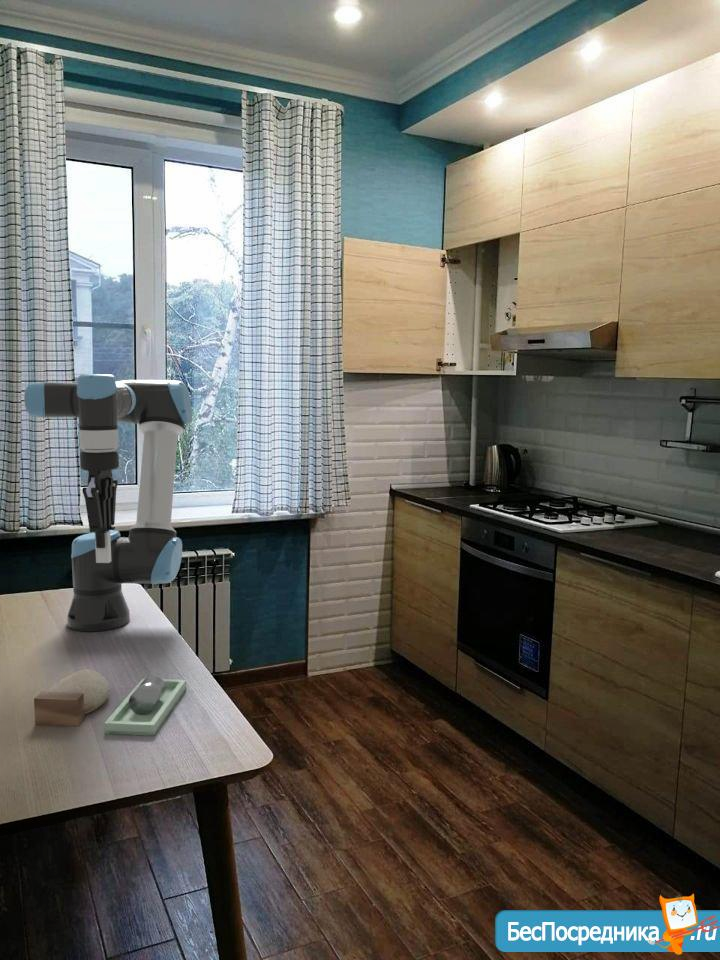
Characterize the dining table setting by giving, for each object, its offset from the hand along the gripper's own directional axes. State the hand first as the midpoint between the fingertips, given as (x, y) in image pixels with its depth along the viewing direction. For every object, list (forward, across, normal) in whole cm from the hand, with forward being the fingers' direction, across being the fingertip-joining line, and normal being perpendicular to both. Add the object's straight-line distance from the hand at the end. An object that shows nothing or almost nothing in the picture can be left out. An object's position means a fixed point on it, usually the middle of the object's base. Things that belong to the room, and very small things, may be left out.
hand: (103, 561), depth 161 cm
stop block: (+24, +23, 0) cm, 34 cm away
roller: (+24, +17, +14) cm, 33 cm away
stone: (+25, +15, 0) cm, 29 cm away
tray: (+24, +17, +14) cm, 33 cm away
